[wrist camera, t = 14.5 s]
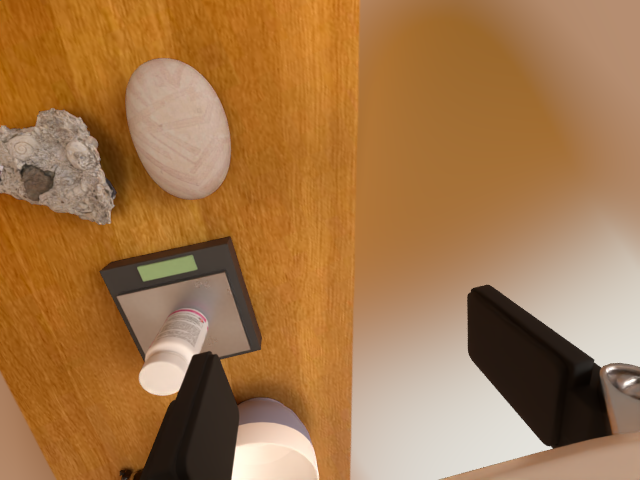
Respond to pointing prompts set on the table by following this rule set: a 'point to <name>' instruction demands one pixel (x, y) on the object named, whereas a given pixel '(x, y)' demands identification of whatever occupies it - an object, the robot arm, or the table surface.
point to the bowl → (272, 444)
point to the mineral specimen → (56, 167)
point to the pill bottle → (173, 351)
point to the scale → (179, 267)
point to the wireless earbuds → (129, 475)
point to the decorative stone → (178, 128)
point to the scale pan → (196, 293)
